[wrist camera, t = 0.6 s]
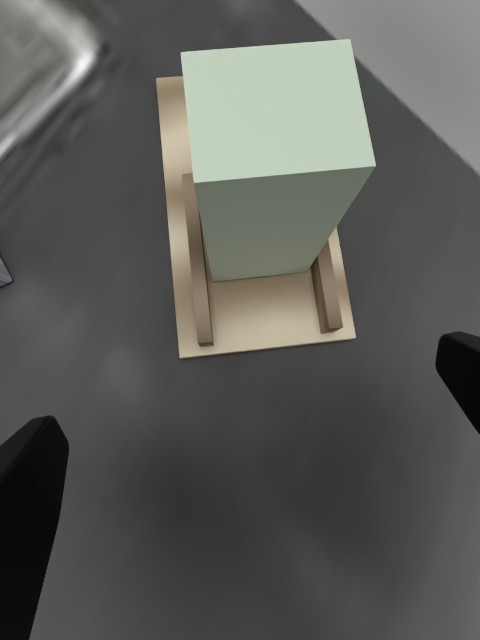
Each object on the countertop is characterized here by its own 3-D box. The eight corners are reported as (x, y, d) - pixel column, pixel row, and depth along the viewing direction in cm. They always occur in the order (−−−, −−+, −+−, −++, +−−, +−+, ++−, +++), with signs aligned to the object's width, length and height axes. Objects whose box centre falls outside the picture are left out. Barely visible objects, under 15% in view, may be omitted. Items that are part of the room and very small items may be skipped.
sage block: (306, 271, 22) (375, 165, 12) (212, 281, 22) (193, 182, 11) (295, 199, 23) (350, 39, 12) (204, 208, 23) (180, 52, 12)
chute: (351, 339, 23) (367, 333, 20) (181, 358, 22) (174, 355, 20) (305, 75, 26) (314, 39, 24) (158, 87, 26) (149, 52, 23)
